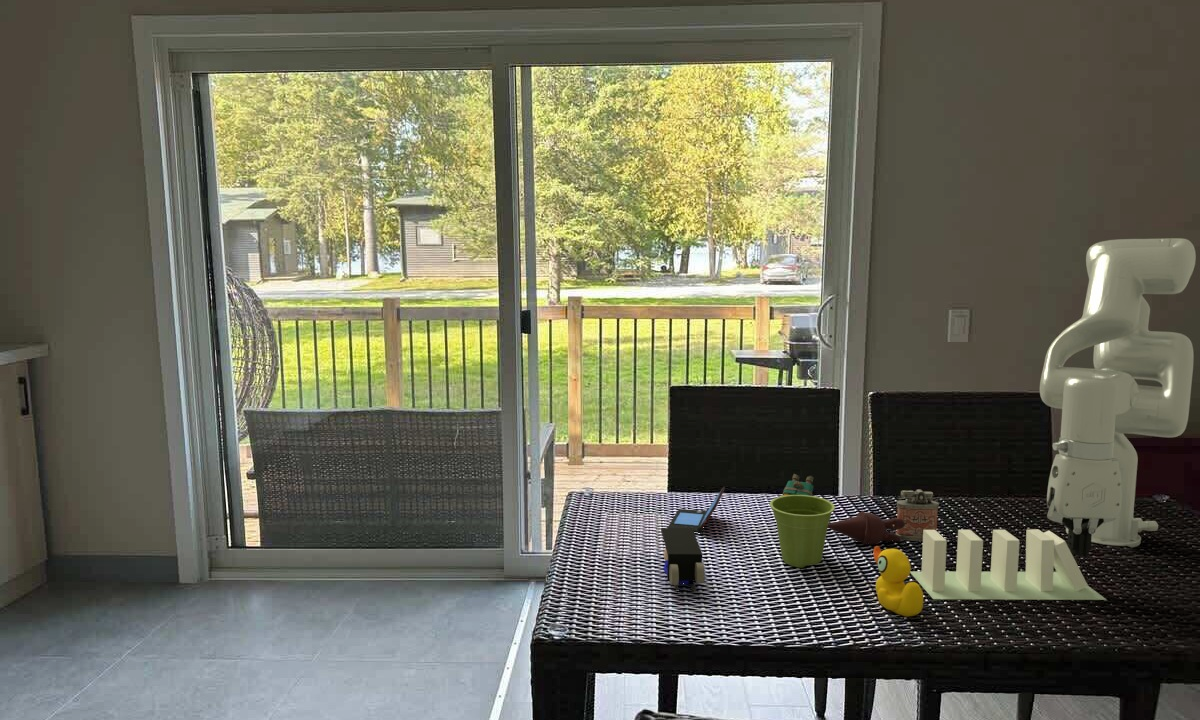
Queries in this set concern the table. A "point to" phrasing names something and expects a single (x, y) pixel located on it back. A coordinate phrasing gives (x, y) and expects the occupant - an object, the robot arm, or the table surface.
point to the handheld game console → (694, 516)
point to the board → (993, 591)
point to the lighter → (916, 514)
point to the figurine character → (682, 557)
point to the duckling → (897, 583)
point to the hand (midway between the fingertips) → (1078, 553)
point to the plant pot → (801, 527)
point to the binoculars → (799, 486)
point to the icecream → (868, 528)
